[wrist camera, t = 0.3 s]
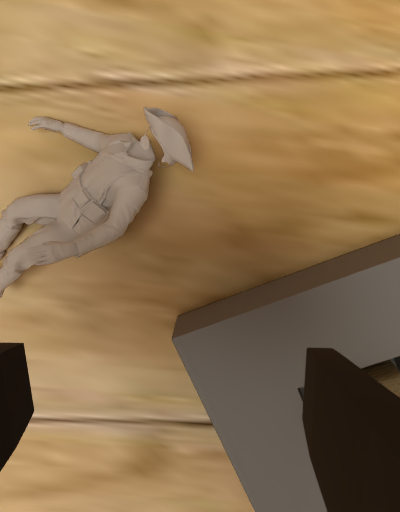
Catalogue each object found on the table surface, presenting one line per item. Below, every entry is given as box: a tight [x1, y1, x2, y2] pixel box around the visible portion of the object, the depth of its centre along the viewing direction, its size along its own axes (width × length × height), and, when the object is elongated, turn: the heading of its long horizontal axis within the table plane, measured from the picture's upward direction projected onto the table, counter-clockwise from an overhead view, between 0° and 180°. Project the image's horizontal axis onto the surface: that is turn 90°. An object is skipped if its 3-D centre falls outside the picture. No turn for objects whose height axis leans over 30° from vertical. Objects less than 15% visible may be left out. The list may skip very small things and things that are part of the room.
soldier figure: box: [0, 107, 194, 298], centre depth 17 cm, size 8×5×12 cm
